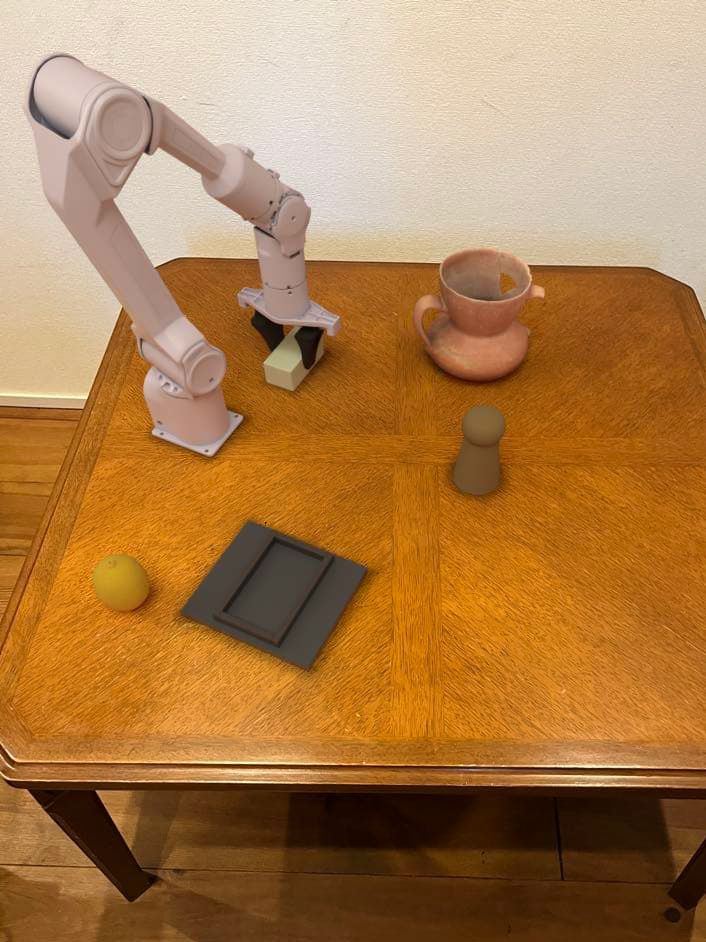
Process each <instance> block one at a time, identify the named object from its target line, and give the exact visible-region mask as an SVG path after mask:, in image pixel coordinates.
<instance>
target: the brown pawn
mask: <svg viewBox="0 0 706 942" xmlns="http://www.w3.org/2000/svg"><path fill="white" fill-rule="evenodd" d="M506 430H507V421H506V418H505V416H504V414H503V412H502V411H500V409H498V408H497V407H495V406H494V405H489V404H477V405H475V406H472V407H470V409H468V410H467V411H466V412H465V413H464V416H463V418H462V420H461V431H462V434H463V440H462V443H461V446H460V449H459V452H458V455H457V459H456V462H455V466H454V468H453V472H452V481H453V483H454V485H455V486H456V487H457V489H459V490H460V491H462V492H463V493H465V494H468V495H472V496H484V495H488V494H490V493H492V492H494V491H495V490H496V489H497V488H498V486H499V484H500V481H501V480H500V479H501V478H500V477H501V476H500V475H501V473H500V470H501V469H500V466H501V465H500V463H501V462H500V441H501V440H502V439H503V437H504V435H505V433H506Z"/></svg>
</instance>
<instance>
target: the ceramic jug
mask: <svg viewBox="0 0 706 942" xmlns="http://www.w3.org/2000/svg"><path fill="white" fill-rule="evenodd" d="M502 274H505V275H507V276H509V277H510V279H511V280H512V281H513V282H514V283H515V284H516V287H514V288H511V289H509V290H507V291H505V292H504V293H502V288H501V287H502V286H501V276H502ZM438 281H439V289H440V293H441V295H440V296H439V295H437V294H436V295H435V294H427V295H423V296H422V297H420V298H419V299H418V300H417V302H416V304H415V306H414V308H413V313H412V323H413V324H412V325H413V328H414V330H415V331H416V333H417V335H418V336H419V338H420V340H421V341H422V342H423V348H424V350H425V351H426V353H427V354H428V355H429V357H430V359H431V360H432V361H433V362H434V363H435V364H436V366H438V367H439V368H440V369H441V370H442V371H444V372H446V373H447V374H450V375H451V376H453V377H456V378H459V379H462V380H466V381H471V382H472V381H473V382H488V381H493V380H494V381H495V380H498V379H501V378H503V377H506V376H508V375H509V374H510V373H512V372H514V371H516V370H517V369H518V368H519V367H520V366H521V364H522V363H523V361H525V359H526V356H527V354H528V349H529V338H530V336H531V329H529V328H528V327H527V326H526V325H524V324H523V322H521V320H520V319H519V318H517V316H518V315H519V313H520V312H521V310H522V308H523V307H524V305H525V303H526V302H528V301H530V300H532V299H539V300H544V298H545V296H546V295H545V294H546V293H545V292H546V291H545V288H544V287H542V286H539V285H536V284H535V285H534V284H533V285H532V282H533V275H532V274H531V269H530V266H529V265H528V264H527V263H526V262H525V261H524V260H523V259H521V257H519V256H517V255H516V254H514V253H512V252H509V251H506V250H502V249H501V250H500V249H498V248H492V247H473V248H469V249H463V250H461V251H456V252H454V253H452V254H450V255H449V256H447V257H446V258H445V259H443V260H442V262H441V263H440V265H439V269H438ZM428 310H436V311H439V312H441V313H440V314H439V315H438V316H436V317H435V319H434V320H433V321H432V322H431V324H430V325H429V327H428V330H427V331H426V329H425V326H424V320H423V319H424V316H425V313H426V312H427V311H428Z"/></svg>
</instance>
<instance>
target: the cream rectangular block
mask: <svg viewBox="0 0 706 942" xmlns="http://www.w3.org/2000/svg"><path fill="white" fill-rule="evenodd" d="M301 327H302V326H297V325H294V326H293V328H292V329H291V330H290V332H289V333H288V334H287V335H286V336H284V337H285V338H284V340H283V341H282V342H281V343H280V344H279V345H278V347H277V348H276V349H275V350H274V351H273V352H272V353H270V355H268V357H267V358H266V359H265V360H264V362H263V363H262V365H263V370H264V376H265V382H266V383H267V384H269V385H270V384H271V385H273V386H276V387H278V388H282V389H285V390H288V391H291V392H294V391H295V390H296V389H297V388H298V387H299V385H301V383H302V381H303V380H304V379H305V378H306V376H307V375H308V374H309V373H310V371H311V370H312V369H313V368H314V367H315V365H316V364H317V363H318V362H319V360H320V359H321V358H322V357H323V355H324V354H325V349H324V348H325V347H324V337H323V336H322V337H321V339H320V342H319V345H318V349H317V354H316V361H315V363H314V364H313V366H312V367H311V368H310V369H309V370H307V369H305V368H304V365H303V362H302V355H301V351H300V347H299V345H298V343H297V341H296V340H295V338H294V335H295V334H296V333H297V332H298V330H299V329H300V328H301Z"/></svg>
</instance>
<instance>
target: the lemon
mask: <svg viewBox="0 0 706 942" xmlns="http://www.w3.org/2000/svg"><path fill="white" fill-rule="evenodd" d="M92 572H93V573H92V587H93V590H94V593H95V595H96V598H97V599H98V600H99V601H100V602H101V603H102V604H103V606H105V607H107V608H108V609H109V610H113V611H116V612H123V613H124V612H130V611H132V610H135V609H137V608H139V607H140V606H141V605H142V604H143V603H144V602H145V601H146V600H147V598H148V595H149V593H150V586H151V585H150V578H149V574H148V573H147V571H146V569H145V568H144V567H143V565H142V564H141V563H140V561H138V560H136V559H135V558H134V557H133V556H130V555H128V554H123V553H114V554H109V555H107V556H105V557H104V558H102V559H101V560H99V562H98V563H97V564H96V566H95V568H94V569H93V571H92Z"/></svg>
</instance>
